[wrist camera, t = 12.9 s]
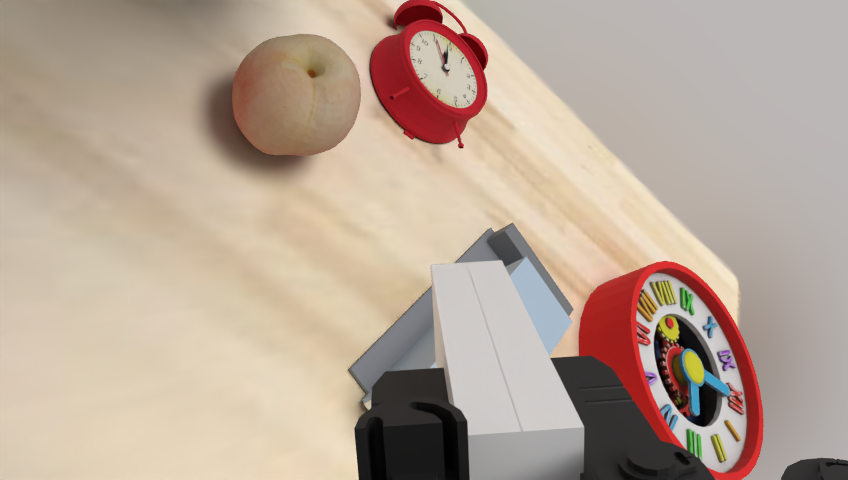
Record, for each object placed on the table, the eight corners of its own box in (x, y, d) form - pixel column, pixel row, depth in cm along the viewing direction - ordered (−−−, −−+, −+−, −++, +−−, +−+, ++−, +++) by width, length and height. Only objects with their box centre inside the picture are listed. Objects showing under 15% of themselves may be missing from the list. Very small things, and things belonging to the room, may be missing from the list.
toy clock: (631, 223, 64) (752, 317, 73) (581, 246, 68) (702, 332, 77) (630, 431, 52) (774, 514, 61) (570, 444, 56) (713, 519, 65)
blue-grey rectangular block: (477, 461, 41) (572, 321, 52) (418, 381, 40) (526, 256, 51) (414, 475, 45) (514, 342, 56) (360, 402, 44) (471, 282, 55)
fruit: (217, 58, 48) (273, -13, 42) (319, 100, 52) (380, 40, 47) (207, 157, 44) (266, 93, 39) (316, 192, 49) (383, 139, 43)
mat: (437, 488, 46) (462, 484, 44) (348, 369, 45) (370, 360, 43) (554, 322, 60) (576, 313, 59) (488, 229, 59) (509, 217, 58)
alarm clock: (380, 86, 52) (437, -55, 58) (340, 112, 57) (397, -19, 63) (481, 158, 57) (525, 21, 63) (436, 176, 62) (481, 48, 68)
